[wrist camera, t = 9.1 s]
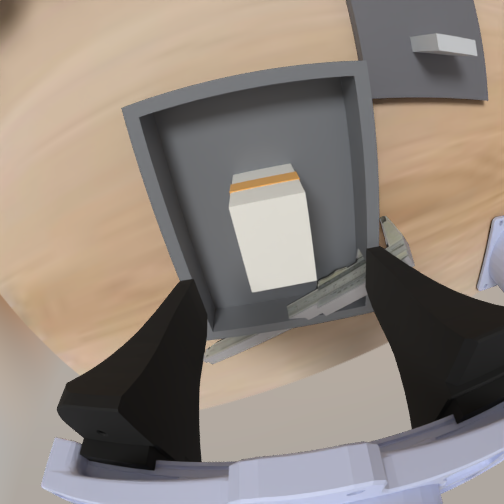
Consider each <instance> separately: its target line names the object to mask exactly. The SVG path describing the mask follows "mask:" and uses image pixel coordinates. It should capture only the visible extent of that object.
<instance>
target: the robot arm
mask: <svg viewBox="0 0 504 504" xmlns="http://www.w3.org/2000/svg"><path fill="white" fill-rule="evenodd" d="M496 285H498V286H499V287H500V288H501V290H502V291H503V292H504V216H499V217H495V218H494V219H493V220H492V224H491V230H490V235H489V240H488V245H487V249H486V254H485V258H484V262H483V266H482V270H481V274H480V277H479V281H478V285H477V289H478V290H479V291H482V290H485V289H488V288H491V287H494V286H496ZM365 288H366V291H367V294H368V297H369V300H370V303H371V306H372V308H373V310H374V312H375V314H376V317H377V319H378V321H379V323H380V325H381V327H382V329H383V331H384V333H385V335H386V337H387V340H388V342H389V344H390V346H391V348H392V351H393V353H394V356H395V359H396V362H397V366H398V369H399V372H400V375H401V380H402V383H403V387H404V391H405V395H406V400H407V404H408V409H409V414H410V420H411V426H412V430H409V431H406V432H402V433H399V434H396V435H393V436H389V437H386V438H382V439H379V440H375V441H371V442H357V443H350V444H344V445H339V446H334V447H329V448H324V449H317V450H311V451H305V452H298V453H291V454H283V455H273V456H263V457H255V458H248V459H242V460H240V461H236V462H202V461H201V450H200V432H199V388H200V378H201V371H202V365H203V359H204V352H205V346H206V339H207V316H208V314H207V312H206V309H205V307H204V304H203V302H202V299H201V297H200V294H199V291H198V289H197V286H196V283H195V281H194V279H189V280H183V281H180V282H179V283H178V284H177V285H176V286H175V288H174V289H173V290H172V291H171V293H170V294H169V295H168V297H167V298H166V299H165V300H164V302H163V303H162V304H161V305H160V307H159V308H158V309H157V310H156V312H155V313H154V314H153V315H152V316H151V317H150V319H149V320H148V321H147V322H146V323H145V324H144V325H143V327H142V328H141V329H140V330H139V331H138V332H137V333H136V334H135V335H134V336H133V337H132V338H131V339H130V340H129V341H128V342H126V343H125V344H124V345H123V346H122V347H121V348H119V349H118V350H117V351H116V352H115V353H113V354H112V355H111V356H110V357H108V358H107V359H106V360H104V361H103V362H101V363H100V364H99V365H97V366H96V367H94V368H93V369H91V370H89V371H88V372H86V373H84V374H83V375H81V376H79V377H77V378H75V379H74V380H72V381H70V382H68V383H67V384H66V386H65V389H64V391H63V394H62V396H61V399H60V402H59V404H58V407H57V412H58V414H59V416H60V417H61V418H62V420H63V421H64V422H65V423H66V424H68V425H69V426H70V427H71V428H72V429H74V430H75V431H76V432H77V433H79V434H80V435H81V436H82V437H83V438H84V440H83V443H82V444H80V443H78V442H76V441H72V440H67V439H63V438H58V437H56V438H55V439H54V443H53V446H52V449H51V452H50V455H49V459H48V462H47V465H46V469H45V472H44V476H43V480H42V484H41V487H42V488H43V489H45V490H47V491H49V492H51V493H53V494H55V495H57V496H59V497H60V498H63V499H65V500H67V501H69V502H71V503H73V504H443V502H442V498H441V494H442V493H444V492H446V491H448V490H451V489H453V488H455V487H457V486H459V485H461V484H463V483H465V482H467V481H469V480H471V479H472V478H474V477H476V476H478V475H480V474H481V473H483V472H485V471H487V470H488V469H490V468H492V467H493V466H495V465H497V464H498V463H500V462H502V461H503V460H504V306H499V305H494V304H491V303H488V302H484V301H481V300H478V299H474V298H472V297H469V296H466V295H464V294H461V293H459V292H456V291H454V290H452V289H450V288H448V287H446V286H444V285H441V284H439V283H437V282H436V281H434V280H432V279H430V278H429V277H427V276H425V275H423V274H422V273H420V272H418V271H417V270H415V269H414V268H412V267H411V266H409V265H408V264H406V263H405V262H403V261H402V260H400V259H399V258H397V257H396V256H394V255H393V254H391V253H390V252H388V251H387V250H385V249H384V248H382V247H380V246H378V247H372V248H367V249H366V284H365Z"/></svg>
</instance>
